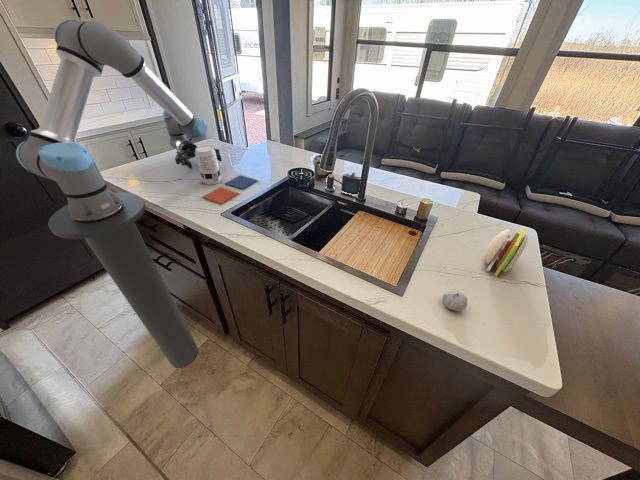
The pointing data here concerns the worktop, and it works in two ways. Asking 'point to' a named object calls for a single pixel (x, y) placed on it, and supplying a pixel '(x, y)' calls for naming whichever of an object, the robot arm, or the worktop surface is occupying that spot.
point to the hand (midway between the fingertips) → (206, 161)
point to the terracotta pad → (220, 195)
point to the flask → (350, 184)
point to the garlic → (455, 300)
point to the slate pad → (241, 182)
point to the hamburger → (505, 250)
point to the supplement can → (208, 165)
